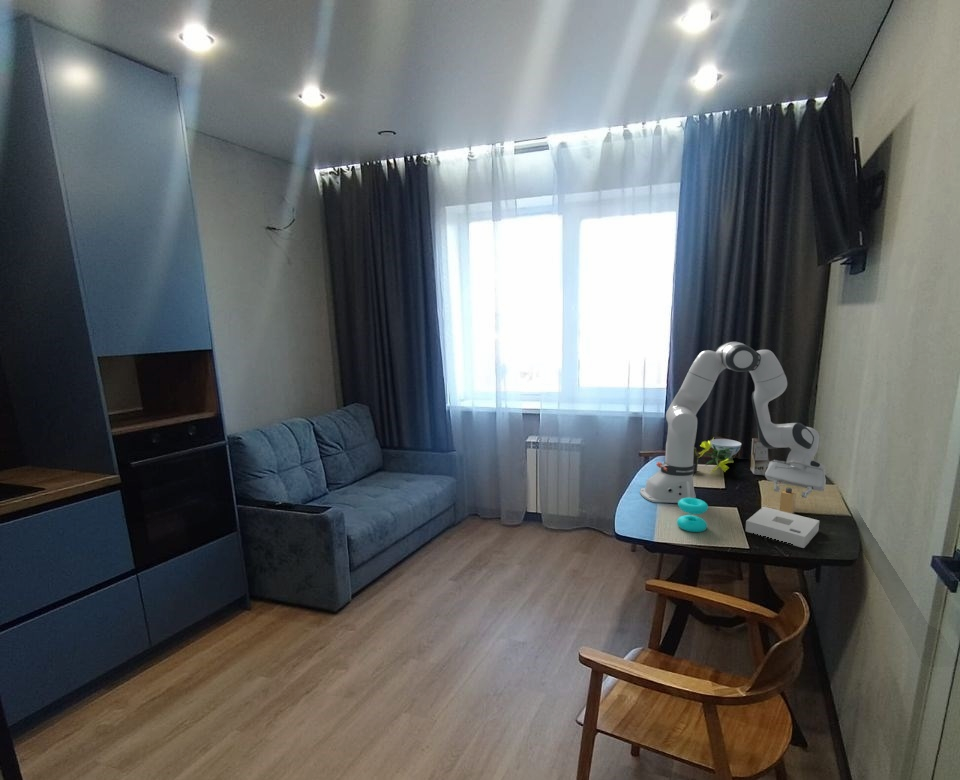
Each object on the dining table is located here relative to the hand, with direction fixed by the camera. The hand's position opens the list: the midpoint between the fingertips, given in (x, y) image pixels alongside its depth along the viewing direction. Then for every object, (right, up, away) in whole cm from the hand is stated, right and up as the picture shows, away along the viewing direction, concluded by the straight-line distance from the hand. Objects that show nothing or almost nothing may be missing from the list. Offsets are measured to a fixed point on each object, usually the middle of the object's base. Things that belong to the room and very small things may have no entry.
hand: (789, 493), depth 191 cm
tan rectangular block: (-1, -7, 0) cm, 7 cm away
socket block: (-13, -10, -17) cm, 23 cm away
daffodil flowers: (-2, +1, +54) cm, 54 cm away
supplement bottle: (-18, 0, +49) cm, 53 cm away
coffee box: (+14, +1, +46) cm, 48 cm away
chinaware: (+11, +5, +73) cm, 74 cm away
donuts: (-44, -10, -12) cm, 46 cm away
